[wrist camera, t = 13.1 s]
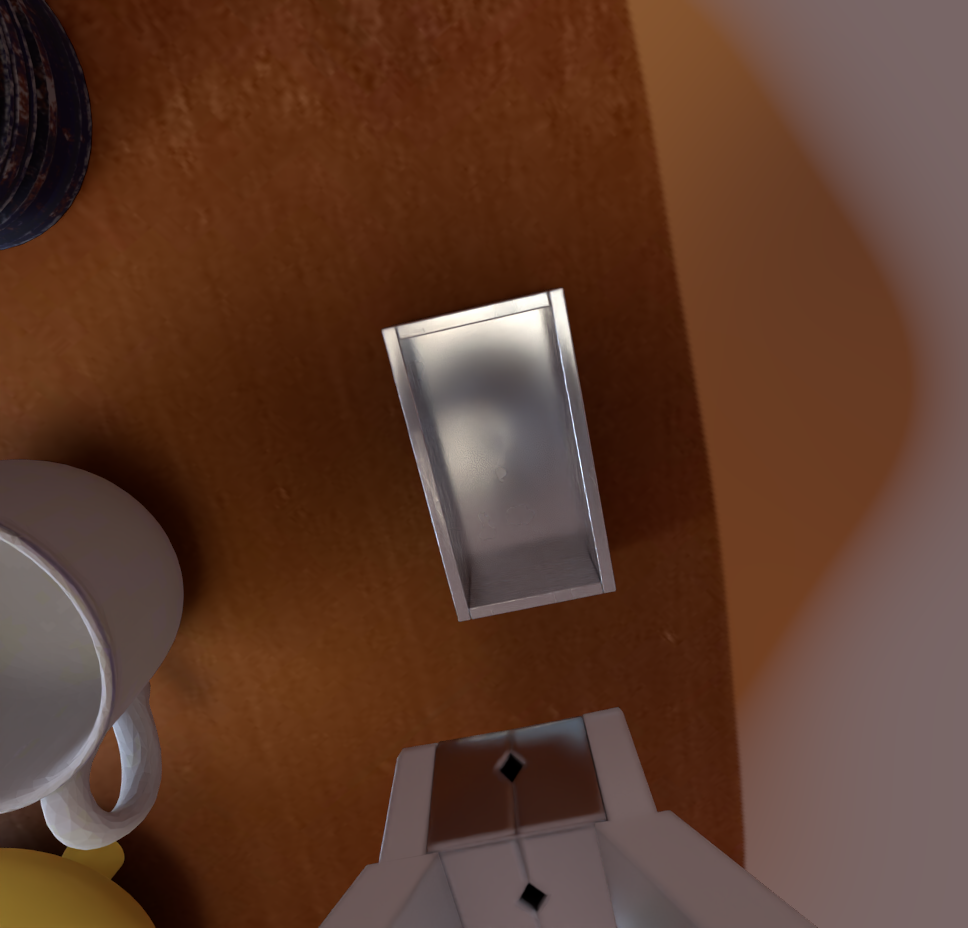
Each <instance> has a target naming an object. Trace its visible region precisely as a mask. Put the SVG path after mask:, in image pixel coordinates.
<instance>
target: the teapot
mask: <svg viewBox="0 0 968 928" xmlns="http://www.w3.org/2000/svg"><path fill="white" fill-rule="evenodd" d="M123 862H124V852H123V849H122V848H121V846H120V845H119V844H118V843H117V842H116V841H115V842H113V843H111V844H109V845H107V846H104V847H101V848H96V849H90V850H81V849H76V848H72V847H68V846H67V848H66V850H65V851H64V853H63V855H62V857H60V856H57V855H54V854H50V853H45V852H40V851H35V850H27V849H18V848H0V928H155V926H154V924H153V922H152V921H151V919H150V917H149V916H148V915H147V913H146V912H145V911H144V909H143V908H142V907H141V905H140V904H139V903H138V902H137V901H136V900H135V899H134V898H133V897H132V896H131V895H130V894H129V893H127V892H126V891H125V890H124V889H122V888H121V887H120V886H119V885H118V884H116V883H115V882H113V881H112V880H111V879H112V877H113V876H114V875H115V874H116V872H117V871H118V870H119V869H120V867H121V866H122V864H123Z"/></svg>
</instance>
